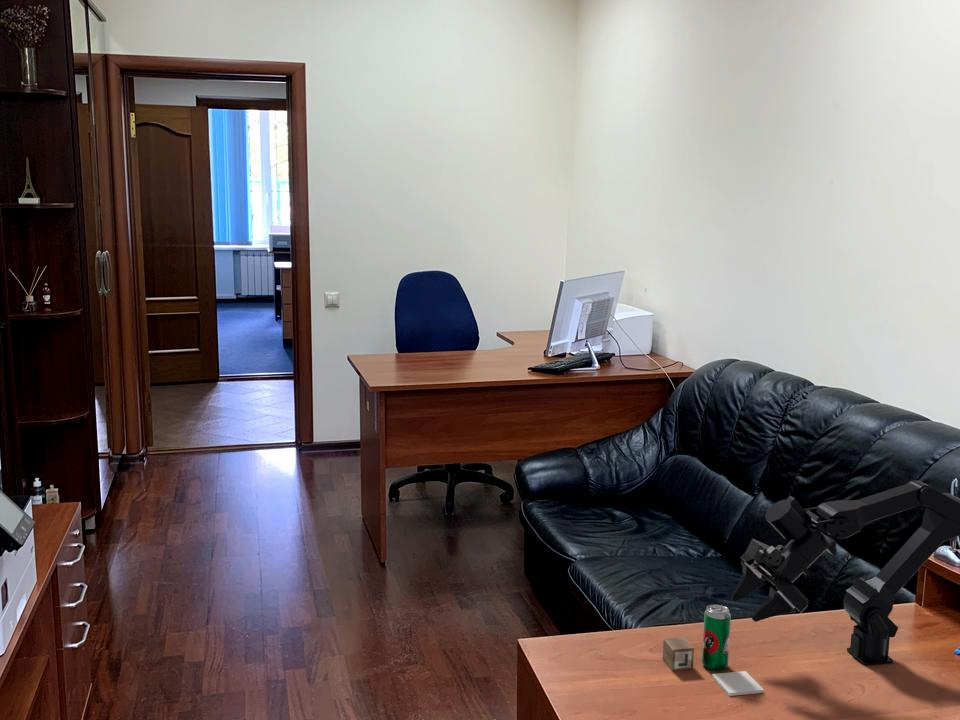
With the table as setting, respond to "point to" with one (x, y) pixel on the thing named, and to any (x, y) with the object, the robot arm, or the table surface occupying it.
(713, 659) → the soda can
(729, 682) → the coaster
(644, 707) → the table surface
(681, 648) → the letter cube
